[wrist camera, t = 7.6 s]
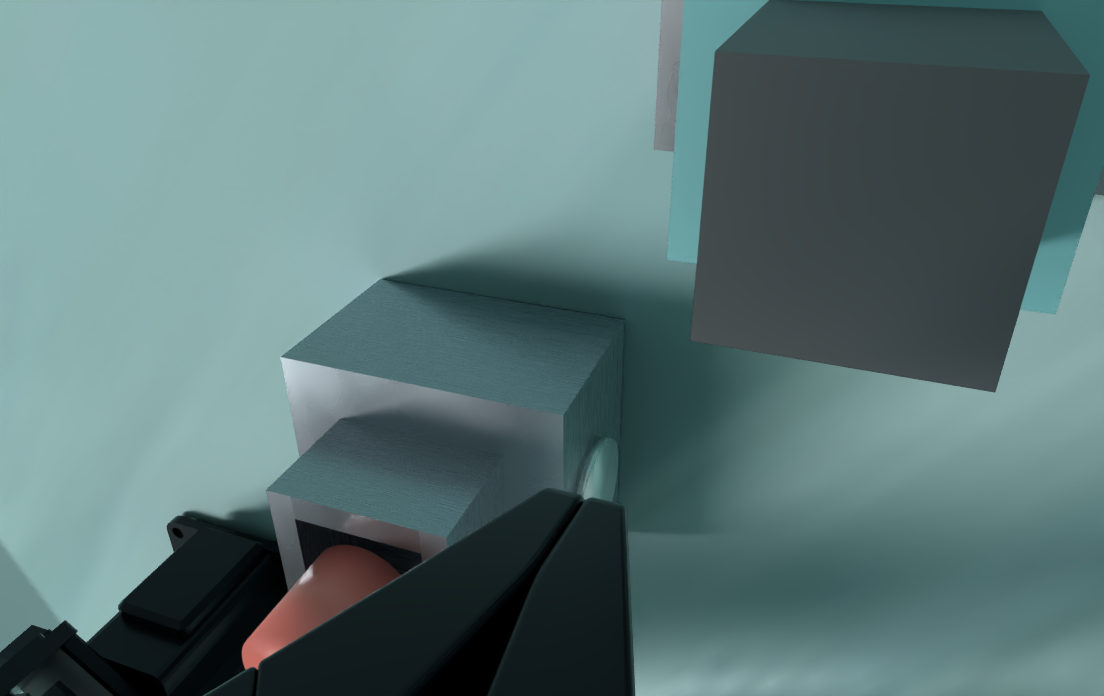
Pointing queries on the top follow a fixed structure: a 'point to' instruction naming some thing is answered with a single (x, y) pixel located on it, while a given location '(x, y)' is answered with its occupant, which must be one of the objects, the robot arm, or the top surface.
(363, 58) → the top surface
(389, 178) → the top surface
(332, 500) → the grey piece
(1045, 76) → the carriage
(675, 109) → the rail
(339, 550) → the plunger
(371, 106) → the top surface
